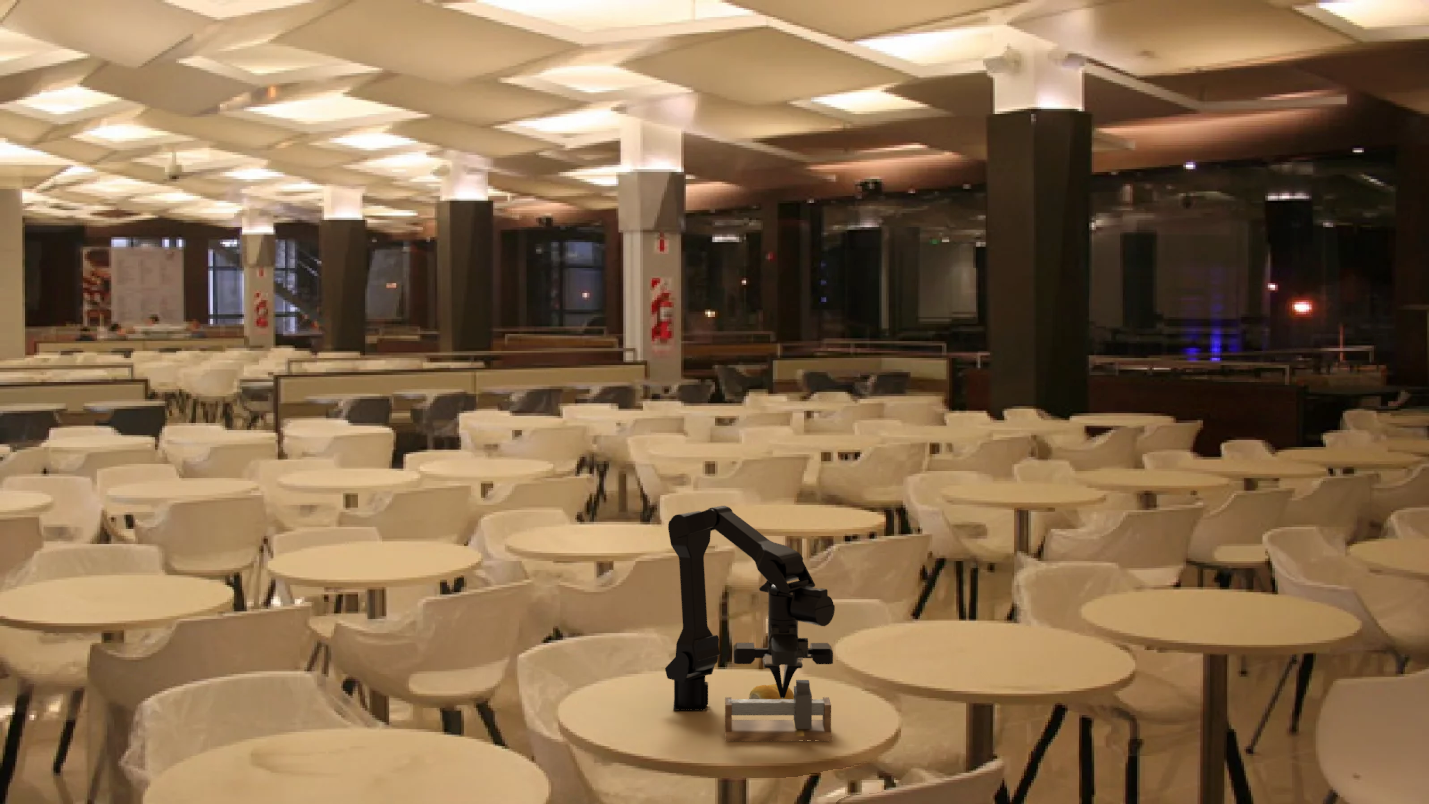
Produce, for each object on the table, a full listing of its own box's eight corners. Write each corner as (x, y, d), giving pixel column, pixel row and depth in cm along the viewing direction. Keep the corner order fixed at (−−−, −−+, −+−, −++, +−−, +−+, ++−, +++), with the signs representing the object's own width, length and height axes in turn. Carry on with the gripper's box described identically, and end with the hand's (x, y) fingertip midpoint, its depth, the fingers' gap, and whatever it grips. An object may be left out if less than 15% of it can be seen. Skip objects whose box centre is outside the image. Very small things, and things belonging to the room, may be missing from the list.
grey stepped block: (795, 728, 274) (795, 686, 273) (793, 718, 280) (793, 677, 280) (811, 728, 274) (811, 686, 273) (809, 718, 280) (809, 677, 280)
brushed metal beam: (728, 717, 275) (728, 701, 275) (728, 712, 278) (728, 697, 278) (827, 717, 276) (827, 701, 275) (826, 712, 279) (826, 697, 278)
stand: (725, 741, 272) (725, 708, 272) (724, 724, 282) (725, 693, 282) (832, 741, 272) (832, 709, 272) (827, 724, 282) (827, 693, 282)
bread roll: (801, 704, 297) (801, 685, 296) (765, 711, 292) (765, 692, 291) (777, 694, 303) (777, 675, 303) (742, 701, 299) (742, 682, 298)
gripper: (735, 627, 267) (734, 710, 269) (836, 627, 267) (835, 710, 269) (733, 613, 278) (733, 692, 280) (830, 613, 279) (829, 693, 280)
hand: (782, 697), depth 277 cm, fingers closed
